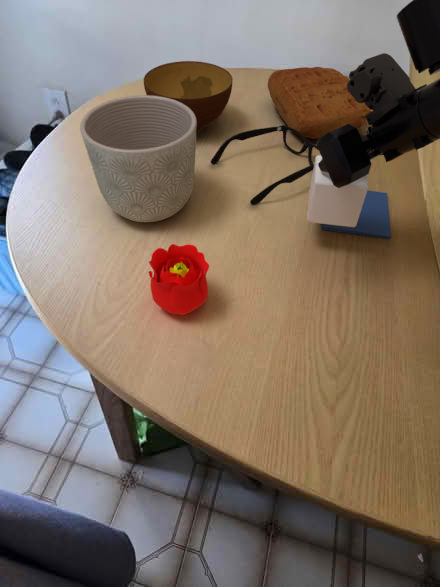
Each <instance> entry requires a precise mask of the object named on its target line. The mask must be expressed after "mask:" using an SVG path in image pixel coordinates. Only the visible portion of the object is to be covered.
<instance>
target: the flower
mask: <svg viewBox="0 0 440 587" xmlns="http://www.w3.org/2000/svg"><path fill="white" fill-rule="evenodd" d="M148 264H149V265H150V267H151V269H152V270H153V271H152V270H149V271H148V275H149V277H150V284H149V285H150V292H151V296H152V299H153V302H154V303H155V304H156V305H157V306H158V307H159V308H161V309H162V310H164V311H166V312H168V313H171V314H173V315H180V316H185V315H187V314H190V313H191V312H193V311H195V310H196V309H198V308H200V307H201V306H202V305H203V304H204V303H205V302H206V301H207V298H208V296H209V286H208V280H207V273H208V271H209V269H210V264H209V263H208V262H207V260H206V257H205V254H204V253H203V252H201V251H199V250H198V247H197V246H196V245H194V244H184V245H177V244H175V243H172V244H170V245H169V246H168V249H167V250H166V249H164V248H162V247H157V249H155V250H154V251H153V252H152V254H151V259H150V260H149V261H148Z"/></svg>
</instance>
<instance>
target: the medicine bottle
mask: <svg viewBox="0 0 440 587" xmlns="http://www.w3.org/2000/svg"><path fill="white" fill-rule="evenodd" d="M359 134H360V136H361V139H362V141H363V142H364V141H366V140H368V138H367V137H366V134H364V133H362V132H359ZM370 150H371V148H369V149H367V150H366V151H367V152H368V151H370ZM321 160H322V156H321V154H318V155H316V156H315V159H314V163H313V164H314V169H313V170H312V174H311V179H310V185H309V190H308V194H307V195H308V198H307V215H306V219H307V220H306V221H307V222H308V223H310V224H311V223H312V224H321V225H322V224H329V225H338V226H347V227H356V225H357V222H358V219H359V215H360V212H361V209H362V206H363V203H364V200H365V196H366V193H367V190H368V191H369V183H368V182H369V181H368V174H367V175H365V176H364V177H362V178H360V179H358V180H356V181H354V182H352V183H351V184H348V185H346V186H343V187H341V188H337V187H335V186H334V185H333V183H332V180H331V178H330V176H329V173H327V172H322V171H321V170H320V168H319V166H318V163H319V162H320V161H321Z"/></svg>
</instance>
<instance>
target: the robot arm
mask: <svg viewBox="0 0 440 587" xmlns="http://www.w3.org/2000/svg"><path fill="white" fill-rule="evenodd" d="M396 21H397V23H398V26H399V28H400V31H401V34H402V37H403V40H404V42H405V44H406V47H407V51H408V53H409V55H410V59H411V61H412V64H413V66H414V69H415V71H417V73H418V74H421V73H423V72H425V71H428V74H429V76H432V75H434V74H437V73H440V0H411V1H410V2H408V3H407V4H406V5H405V6H404V7H403V8H402V9H401V10H400V11H399V12H398V13H397V15H396ZM348 78H349V82H348V83H347V90H348V91H349V93H350V94H351V95H352V96H353V98H354V99H355V100H356V101H357V102H358V103H365V105H366V106H367V107H368V108H369V109H371V112H370V113H368V114H366V115H365V117H366V119H367V120H366V123H367V125H368V127H366V128H365V133H366V134H365V136H366V137H367V138H368V140H366V141H364V142H363V141H362V139H361V136H360V134H359V133H360V130H359V129H358V128H359V127H358V128H357V127H355V126H353V125H351V124H346V125H344V126H342V127H339V128H337V129H335V130H333V131H330V132H328V133H327V134H325V135H323V136H321V137H320V138H317V139H316V145H317V147H318V149H319V150H318V149H317V150H318V152H319V155H321V156H322V160H321V161H320V162H319V163H318V166H319V168H320V170H321V171H322V172H327V173H329V176H330V178H331V180H332V183H333V185H334V186H335V187H337V188H341V187H343V186H346V185H348V184H351V183H352V182H354V181H356V180H358V179H360V178H362V177H364V176H365V175H367V176H368V175H369V173H370V170H371V167H372V161H371V160H373V159H374V158H377V157H379V156H383V157H384V160H385V163H388V162H390V161H393V160H395V159H397V158H399V157H401V156H402V155H404V154H407V153H409V152H411V151H414V150H415V151H418V150H420V149H422V148H425V147H427V146H428V145H430V144H432V143H434V142H436V141H439V140H440V78H437V79H436V80H434V81H433V82H431V83H429V84H427V83H424V84H422V85H421V86H419V87H417V88H416V87H415V85H414V84H413V83H412V81H411V79H410V76H409V75H408V74H407V73H406V72H405V70H404V69H403V68H402V67H401V66H400V64H399V63H398V62H397V61H396V60H395V58H393V56H392V55H390V54H388V53H385V52H382V53H380V54H377V55H373V56H372V57H369V58H365V59H364V60H363V62H362V63H361V64H359V65H358V66H357V67H356V69H354V70H351V71H350V72H349V74H348ZM369 148H371V150H370V151H368V152H367V151H366V150H367V149H369Z"/></svg>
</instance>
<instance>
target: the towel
mask: <svg viewBox="0 0 440 587" xmlns="http://www.w3.org/2000/svg"><path fill="white" fill-rule="evenodd" d="M388 200H389V199H388V193H387V192H382V191H377V190H376V191H375V190H369V189H368V190H367V193H366V196H365V200H364V203H363V206H362V209H361V212H360V215H359V219H358V222H357V225H356V227H347V226H338V225H329V224H321V230H324V231H331V232H338V233H345V234H352V235H357V236H365V237H371V238H372V237H373V238H381V239H388V240H390V239H391V237H392V235H391V224H390V213H389V212H390V210H389V202H388Z"/></svg>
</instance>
